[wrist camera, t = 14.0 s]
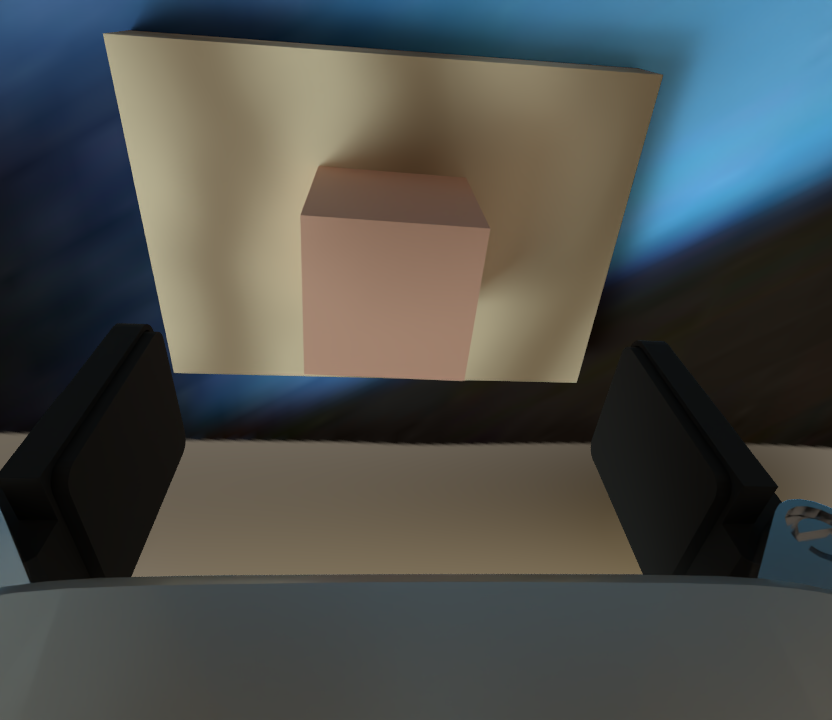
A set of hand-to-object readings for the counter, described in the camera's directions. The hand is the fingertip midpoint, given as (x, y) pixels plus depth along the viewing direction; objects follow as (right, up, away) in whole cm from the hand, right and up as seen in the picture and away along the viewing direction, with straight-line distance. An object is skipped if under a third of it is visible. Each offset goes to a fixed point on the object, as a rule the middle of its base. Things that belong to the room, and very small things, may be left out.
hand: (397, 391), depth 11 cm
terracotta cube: (-1, +5, +9) cm, 10 cm away
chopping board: (-1, +6, +10) cm, 12 cm away
